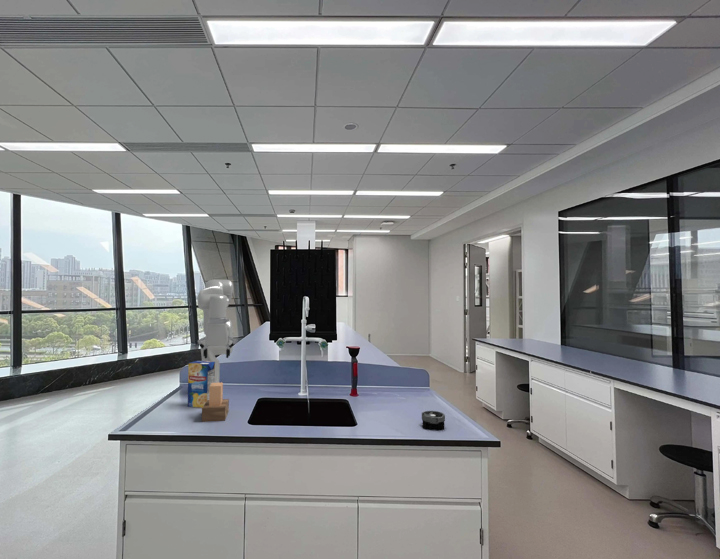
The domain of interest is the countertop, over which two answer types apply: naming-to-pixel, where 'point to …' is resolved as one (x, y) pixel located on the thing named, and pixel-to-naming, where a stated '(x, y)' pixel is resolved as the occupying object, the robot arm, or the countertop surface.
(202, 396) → the blue tall cardboard box
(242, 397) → the countertop surface
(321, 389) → the countertop surface
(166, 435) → the countertop surface
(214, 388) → the carton
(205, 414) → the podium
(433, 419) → the cpu cooler
